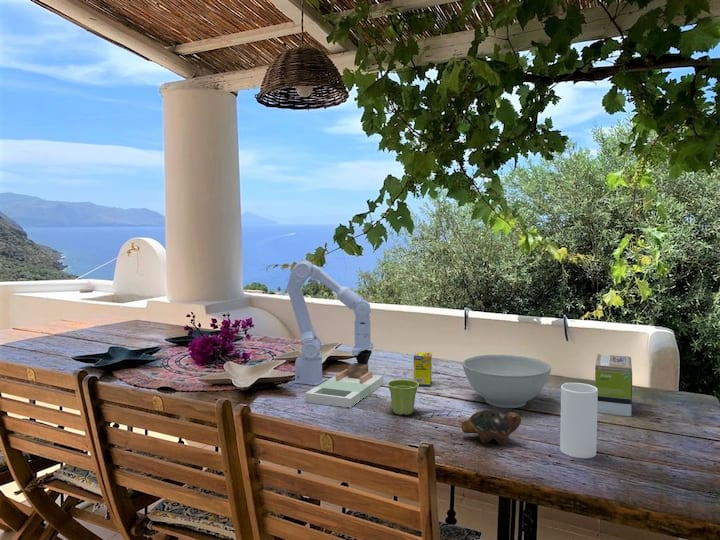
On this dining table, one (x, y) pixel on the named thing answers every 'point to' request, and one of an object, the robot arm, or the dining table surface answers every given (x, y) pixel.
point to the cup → (578, 420)
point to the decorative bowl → (506, 378)
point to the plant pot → (403, 395)
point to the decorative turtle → (492, 425)
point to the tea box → (614, 384)
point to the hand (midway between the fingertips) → (362, 370)
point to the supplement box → (422, 368)
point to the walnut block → (357, 370)
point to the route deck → (344, 389)
